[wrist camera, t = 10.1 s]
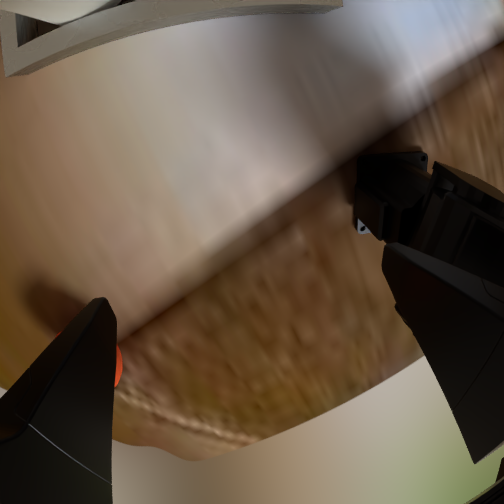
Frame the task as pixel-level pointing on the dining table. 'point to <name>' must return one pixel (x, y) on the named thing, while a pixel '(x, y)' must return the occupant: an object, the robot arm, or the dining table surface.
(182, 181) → the dining table surface
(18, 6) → the can
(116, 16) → the grey compartment tray
